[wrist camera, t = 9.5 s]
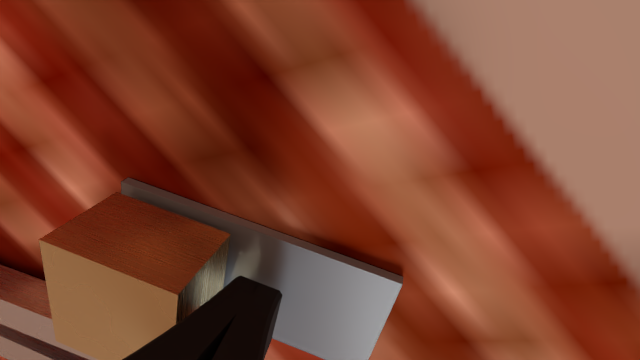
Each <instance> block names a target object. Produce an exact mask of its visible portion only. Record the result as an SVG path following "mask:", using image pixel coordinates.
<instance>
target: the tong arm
mask: <svg viewBox="0 0 640 360" xmlns="http://www.w3.org/2000/svg"><path fill="white" fill-rule="evenodd" d="M0 324H2V325H5V326H7V327H10V328H12V329H15V330H17V331H19V332H22V333H24V334H27V335H29V336H32V337H34V338H37V339H39V340H42V341H44V342H47V343H49V344H52V345H54V346H57V347H59V348H61V349H64V350H66V351H69V352H71V353H74V354H76V355H79V356H81V357H84V358H86V359H89V360H98V359H96V358H94V357H91V356H89V355H87V354H84V353H82V352H80V351H78V350H75V349H73V348H71V347H68V346H66V345H64V344H62V343H59V342H57V341H56V339H55V333H54V327H53V321H52V315H51V309H50V303H49V297H48V292H47V286H46V281H43V280H41V279H38V278H35V277H33V276H30V275H27V274H25V273H22V272H19V271H17V270H14V269H11V268H9V267H6V266H3V265H1V264H0Z"/></svg>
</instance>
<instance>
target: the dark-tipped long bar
mask: <svg viewBox="0 0 640 360" xmlns="http://www.w3.org/2000/svg"><path fill="white" fill-rule="evenodd" d="M0 356H2V357H4V358H6V359H8V360H89V359H86V358H84V357H81V356H79V355H76V354H74V353H71V352H69V351H66V350H64V349H61V348H59V347H57V346H54V345H52V344H49V343H47V342H44V341H42V340H39V339H37V338H34V337H32V336H29V335H27V334H24V333H22V332H19V331H17V330H15V329H12V328H10V327H7V326H5V325H2V324H0Z"/></svg>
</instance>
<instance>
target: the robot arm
mask: <svg viewBox="0 0 640 360" xmlns="http://www.w3.org/2000/svg"><path fill="white" fill-rule="evenodd" d="M281 299H282V293H281V292H280V290H277V289H275V288H272V287H269V286H267V285H264V284H262V283H259V282H256V281H254V280H251V279H249V278H246V277H243V276H238V277H236V278H235V279H233V280H232V281H231V282H230V283H229V284H228V285H227V286H225V287H224V288H223V289H222V290H221V291H219V292H218V293H217V294H216V295H214V296H213V297H212V298H211V299H209V300H208V301H207V302H205V303H204V304H203V305H202V306H200V307H199V308H198V309H196V310H195V311H194V312H192V313H191V314H189V315H188V316H187V317H185V318H184V319H183V320H181V321H180V322H178V323H177V324H176V325H174V326H173V327H171V328H170V329H169V330H167V331H166V332H164V333H163V334H161V335H160V336H158V337H157V338H155V339H153V340H152V341H150V342H149V343H147V344H146V345H144V346H143V347H141V348H140V349H138V350H137V351H135V352H134V353H132V354H130V355H129V356H127V357H125V358H124V359H122V360H264V358H265V355H266V352H267V350H268V347H269V344H270V342H271V339H272V335H273V331H274V327H275V323H276V319H277V315H278V311H279V307H280V303H281Z"/></svg>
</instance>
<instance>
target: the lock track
mask: <svg viewBox="0 0 640 360" xmlns="http://www.w3.org/2000/svg"><path fill="white" fill-rule="evenodd" d="M121 194H124V195H126V196H129V197H132V198H134V199H137V200H140V201H143V202H145V203H148V204H151V205H153V206H156V207H159V208H161V209H164V210H167V211H170V212H172V213H175V214H178V215H180V216H183V217H186V218H189V219H191V220H194V221H197V222H199V223H202V224H205V225H208V226H210V227H213V228H216V229H218V230H221V231H224V232H226V233H229V234H231V235H230V242H229V249H228V256H227V263H226V270H225V277H224V284H223V288H224V287H225V286H227V285H228V284H229V283H230V282H231V281H232V280H233V279H235V278H236V277H238V276H243V277H246V278H249V279H251V280H254V281H256V282H259V283H262V284H264V285H267V286H269V287H272V288H275V289H277V290H280V292H281V293H282V299H281V303H280V307H279V311H278V315H277V319H276V323H275V327H274V331H273V335H272V338H273V339H275V340H278V341H280V342H283V343H285V344H288V345H290V346H293V347H295V348H298V349H300V350H303V351H305V352H308V353H310V354H313V355H315V356H318V357H320V358H323V359H325V360H368V359H369V357H370V355H371V353H372V351H373V348H374V346H375V344H376V342H377V340H378V337H379V335H380V333H381V331H382V329H383V326H384V324H385V322H386V320H387V318H388V315H389V313H390V311H391V309H392V307H393V304H394V302H395V300H396V298H397V296H398V293H399V291H400V289H401V287H402V284H403V277H402V276H399V275H397V274H394V273H391V272H388V271H386V270H383V269H380V268H377V267H375V266H372V265H369V264H366V263H364V262H361V261H358V260H355V259H352V258H350V257H347V256H344V255H341V254H339V253H336V252H333V251H330V250H328V249H325V248H322V247H319V246H317V245H314V244H311V243H308V242H306V241H303V240H300V239H297V238H294V237H292V236H289V235H286V234H283V233H281V232H278V231H275V230H272V229H270V228H267V227H264V226H261V225H259V224H256V223H253V222H250V221H247V220H245V219H242V218H239V217H236V216H234V215H231V214H228V213H225V212H223V211H220V210H217V209H214V208H212V207H209V206H206V205H203V204H201V203H198V202H195V201H192V200H189V199H187V198H184V197H181V196H178V195H176V194H173V193H170V192H167V191H165V190H162V189H159V188H156V187H154V186H151V185H148V184H145V183H143V182H140V181H137V180H134V179H131V178H129V177H128V178H127V179H125V180H123V181H121Z"/></svg>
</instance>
